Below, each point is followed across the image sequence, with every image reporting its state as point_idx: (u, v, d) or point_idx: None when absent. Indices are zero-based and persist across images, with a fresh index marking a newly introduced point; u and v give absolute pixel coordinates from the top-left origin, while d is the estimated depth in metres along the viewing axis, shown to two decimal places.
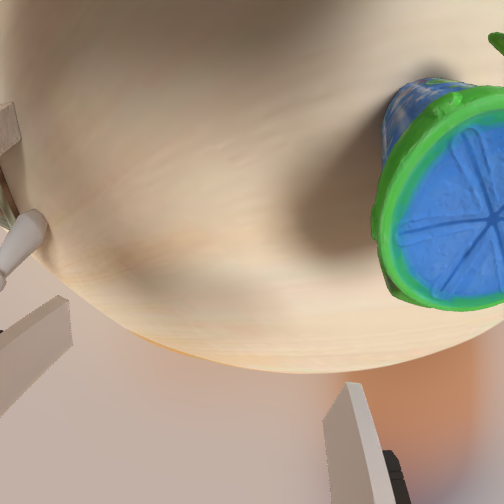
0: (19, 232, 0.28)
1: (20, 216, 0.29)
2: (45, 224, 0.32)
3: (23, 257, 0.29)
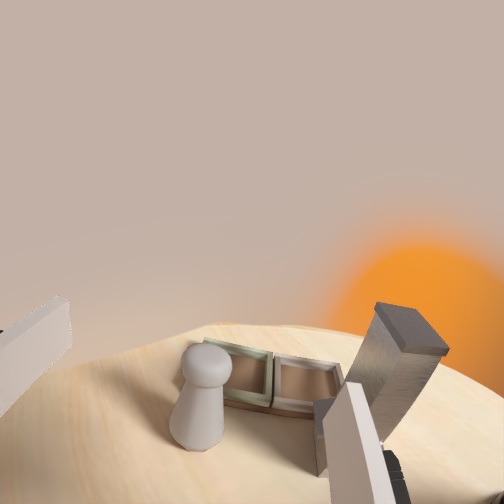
0: (216, 428, 0.23)
1: None
2: (191, 450, 0.23)
3: (186, 415, 0.22)
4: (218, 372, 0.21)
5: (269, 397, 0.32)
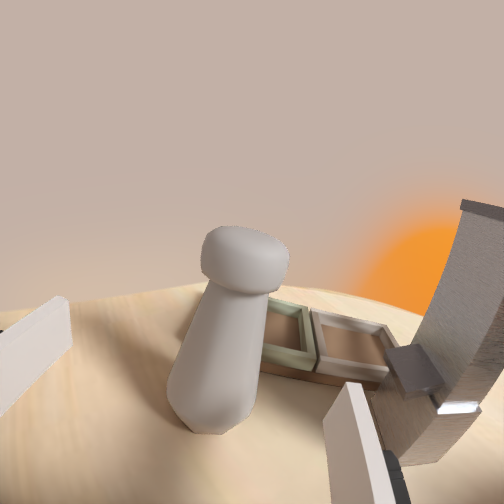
0: (249, 388, 0.15)
1: None
2: (200, 431, 0.15)
3: (199, 359, 0.14)
4: (272, 257, 0.12)
5: (313, 356, 0.23)
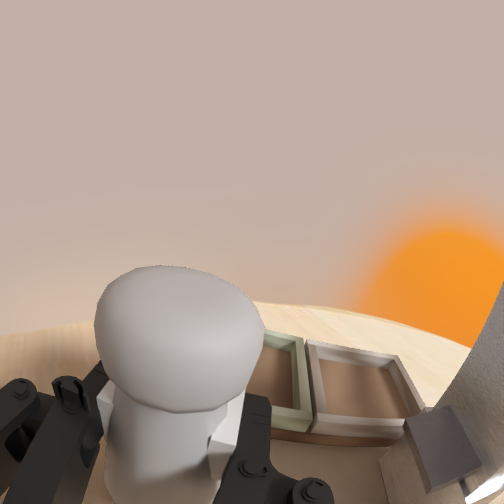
0: (209, 496, 0.08)
1: None
2: None
3: (126, 469, 0.06)
4: (218, 354, 0.05)
5: (308, 415, 0.16)
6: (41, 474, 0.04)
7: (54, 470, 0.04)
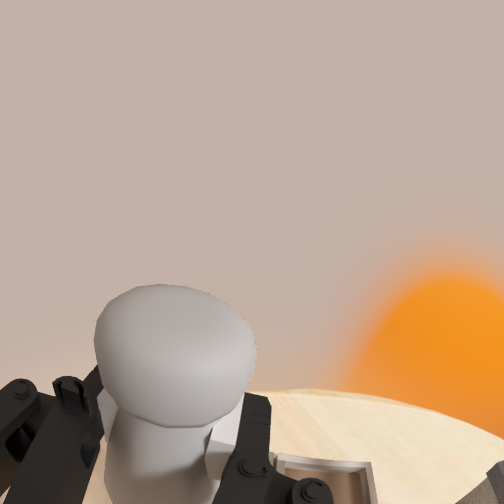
0: (202, 503, 0.08)
1: None
2: None
3: (123, 473, 0.07)
4: (205, 377, 0.05)
5: None
6: (41, 474, 0.04)
7: (55, 470, 0.04)
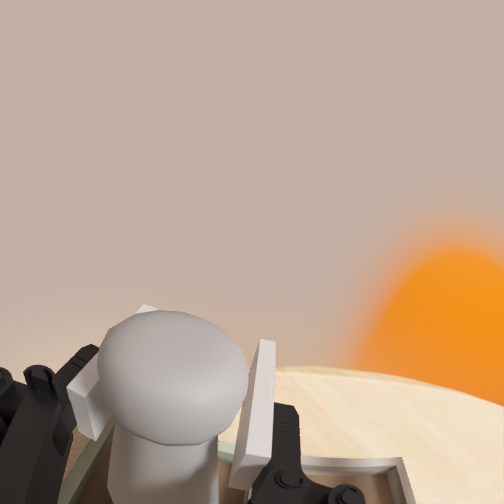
0: None
1: None
2: None
3: (126, 481, 0.07)
4: (199, 404, 0.05)
5: None
6: (17, 461, 0.03)
7: (29, 457, 0.04)
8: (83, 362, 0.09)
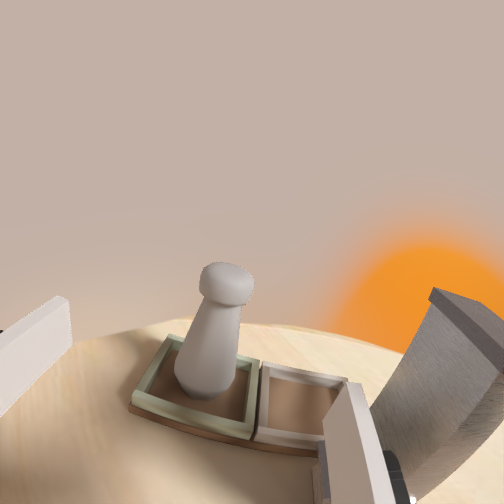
0: (228, 367, 0.23)
1: None
2: (195, 397, 0.23)
3: (196, 345, 0.22)
4: (240, 285, 0.20)
5: (250, 427, 0.20)
6: None
7: None
8: None
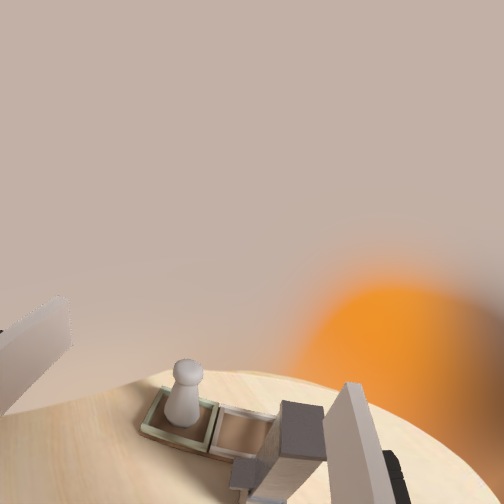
0: (193, 412, 0.37)
1: (199, 414, 0.39)
2: (176, 426, 0.37)
3: (174, 402, 0.36)
4: (193, 377, 0.35)
5: (206, 445, 0.35)
6: None
7: None
8: None
